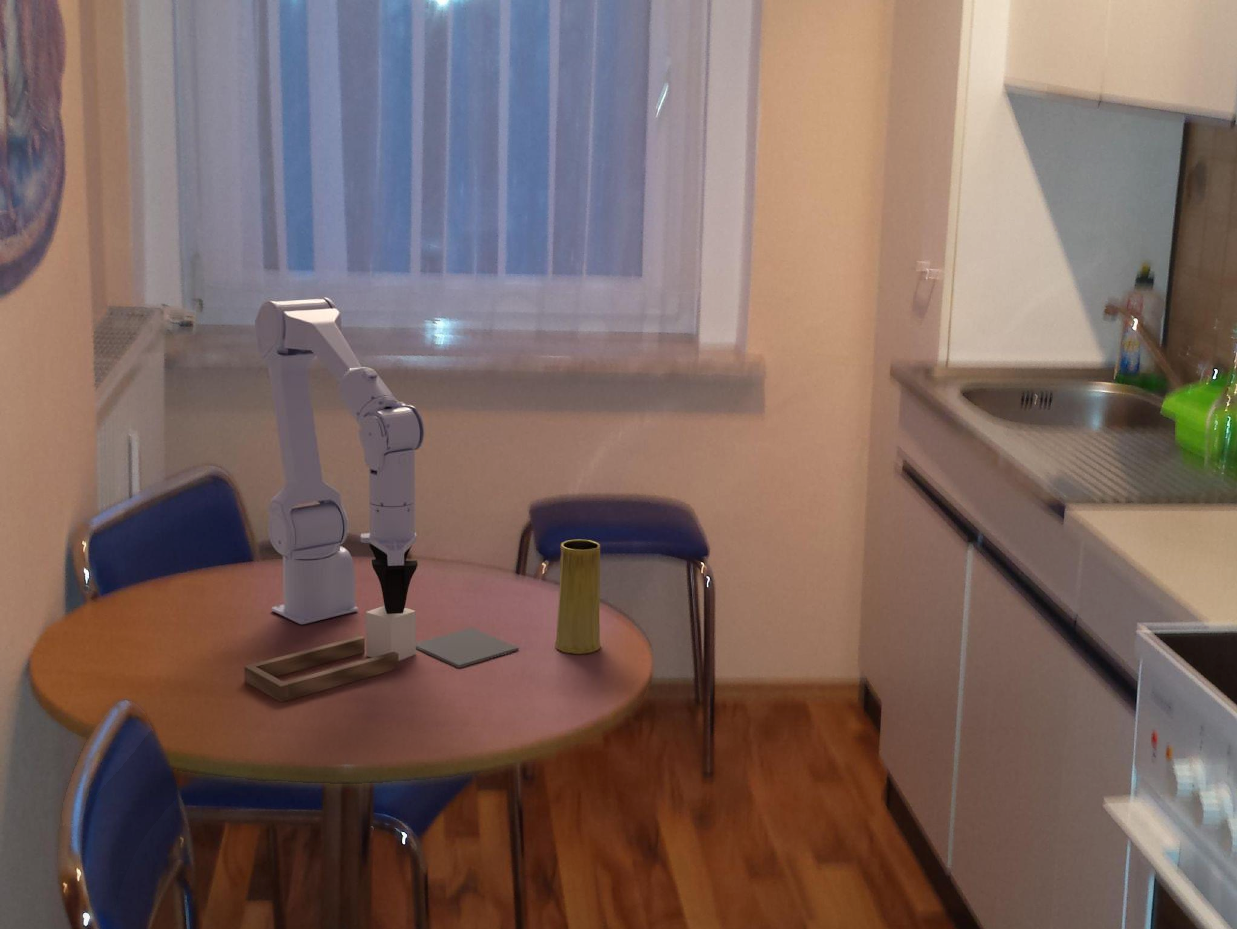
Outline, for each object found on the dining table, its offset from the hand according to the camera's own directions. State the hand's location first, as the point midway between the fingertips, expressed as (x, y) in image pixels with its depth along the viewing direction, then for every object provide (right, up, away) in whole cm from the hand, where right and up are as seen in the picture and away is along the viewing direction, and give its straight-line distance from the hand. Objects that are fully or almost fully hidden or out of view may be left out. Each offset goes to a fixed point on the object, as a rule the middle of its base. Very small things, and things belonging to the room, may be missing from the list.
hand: (393, 603), depth 184 cm
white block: (-1, -7, +2) cm, 7 cm away
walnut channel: (-8, -8, -6) cm, 13 cm away
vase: (+24, -7, +7) cm, 26 cm away
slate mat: (+9, -7, +5) cm, 12 cm away
